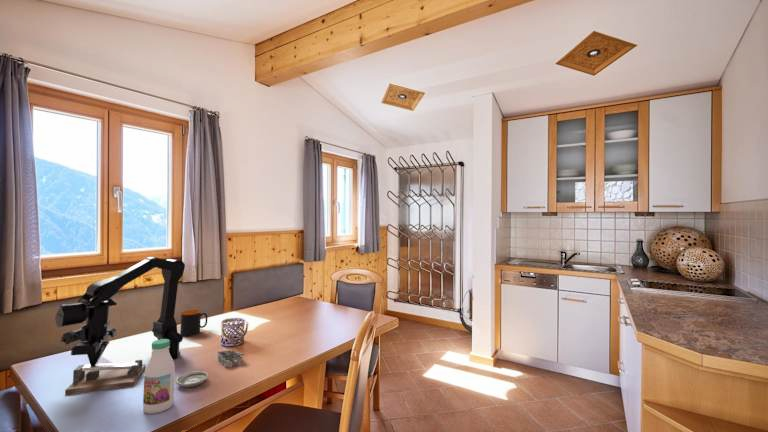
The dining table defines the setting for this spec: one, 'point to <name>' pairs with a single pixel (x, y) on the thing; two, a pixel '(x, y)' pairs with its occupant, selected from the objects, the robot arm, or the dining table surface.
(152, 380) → the milk bottle
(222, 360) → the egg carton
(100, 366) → the bar
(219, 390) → the dining table surface
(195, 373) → the saucer
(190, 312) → the mug
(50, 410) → the dining table surface
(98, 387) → the base
